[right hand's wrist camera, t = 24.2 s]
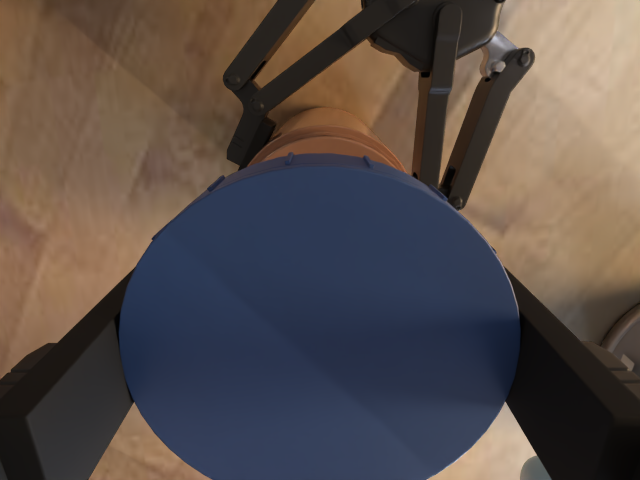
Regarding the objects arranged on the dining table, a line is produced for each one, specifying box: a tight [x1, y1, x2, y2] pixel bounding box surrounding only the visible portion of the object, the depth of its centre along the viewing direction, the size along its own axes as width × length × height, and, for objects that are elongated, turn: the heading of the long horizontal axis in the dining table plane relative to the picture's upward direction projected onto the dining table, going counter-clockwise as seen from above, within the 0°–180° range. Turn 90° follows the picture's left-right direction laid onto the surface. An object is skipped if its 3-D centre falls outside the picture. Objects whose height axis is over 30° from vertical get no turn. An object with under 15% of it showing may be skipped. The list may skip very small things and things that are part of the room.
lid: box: [118, 152, 521, 480], centre depth 11 cm, size 10×10×2 cm
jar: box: [247, 107, 407, 173], centre depth 26 cm, size 9×9×15 cm
